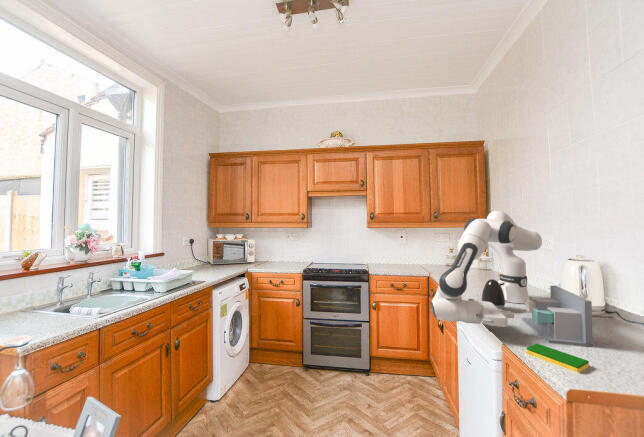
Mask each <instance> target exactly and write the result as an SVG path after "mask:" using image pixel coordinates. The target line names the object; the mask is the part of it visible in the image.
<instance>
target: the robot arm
mask: <svg viewBox="0 0 644 437" xmlns="http://www.w3.org/2000/svg"><path fill="white" fill-rule="evenodd" d="M463 230H464V231H463V233H462V234H461V237H460V238H459V241H458V244H457V249H456V251H457V255H456V258H455V259H454V261H453V263H452V265H451V267H450V268H449V269H447V270H446V271H445V272H443V273H442V274H441V276H440V278H439V281H438V282H439V283H438V287H437V289H436V293H435V295H434V297H433V298H432V300H431V301H430V309H431V313H432V315H433V316H434V318H435V319H437V320H440V321H444V322H453V323H454V322H455V323H456V322H463V323H465V324H467V323H468V324H476V325H477V324H481V322H482V323H484V324H485V325H488V326H491V327H498V328H499V327H500V328H507V327H508V325H509V324H508V321H509V320H508V319H514V318H515V314H514V312H512V311H511V310H504V309H502V310H501V309H498V308H497V307H496V306H495V305H494V304H493V303H491V302H486V301H482V300H477V299H476V300H475V299H474V298H468V299H467V300H466V299H465V300H464V299H462V298H463V297H462V296H463V294H465V292H466V290H467V286H468V279H467V277H468V276H467V275H468V273H469V271H470V268H471V266H472V265H473V262H474V261H475V260H479V259H480V258H481V256H482V255H483V253H485V251H486V249H487V246H489V247H490V248H491V249H492V250H493V251H494V252H496V253H497V255H498V257H499V259H500V262H501V264H500V265H501V273H500V274H499V273H498V275H497V277H499V279H498V280H497V281H498V283H505V285H502V286H501V288H502V290H503V293H504V297H505V303H512V304H525V299H529V300H530V301H531V299H530V295H529V291H528V276H527V267H526V266H527V264H526V261H525V260H524V259H523V258H521V257H519V256H517V255H516V254H515V253H514V252H513V251H521V252H529V251H531V252H532V251H538V250H539V249H540V248H541V247H542V245H543V239H542V236H541V235H540V233H538V232H537V231H536V232H535V231H531V230H529V229H525V228H523V227H521V226H518V225H517V224H516V223H515V221H514V220H513V218H512V217H511V216H510V215H509V214H508V213H506V212H504V211H502V210H494V211H491V212H490V213H489V214H488V215H487V217H486V218H477V217H474V218H473V217H472V218H469V219H468V220H466V222H465V224H464V228H463Z"/></svg>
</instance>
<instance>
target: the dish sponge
mask: <svg viewBox="0 0 644 437" xmlns="http://www.w3.org/2000/svg"><path fill="white" fill-rule="evenodd" d="M525 349H526V350H525V352H526V354H527V355H529V356H531V355H532V357H534V356H535V357H534V358H536V357H538V358H537V359H539V358H541V359H540V360H542V359H543V360H542V361H544V360H545V361H544V362H547V361H548V363H550V362H551V363H550V364H552V363H554V364H553V365H555V364H556V365H555V366H557V365H559V366H558V367H560V366H562V367H561V368H563V367H564V368H563V369H565V368H567V369H566V370H568V369H570V370H573V371H576V372H580V373H582V372H584V371H585V370H584V369H586V368H588V367H589V368H590V361H589V360H587V359H586V358H585V359H584V358H582V357H579V356H575V355H572V354H569V353H566V352H564V351H561V350H558V349H555V348H552V347H548V346H546V345H543V344H540V343H534V344H532V345H530V346H527V347H526V348H525ZM589 368H588V369H589ZM570 370H569V371H570ZM583 370H584V371H583ZM586 370H587V369H586ZM573 371H572V372H573ZM581 371H582V372H581ZM576 372H575V373H576Z"/></svg>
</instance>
